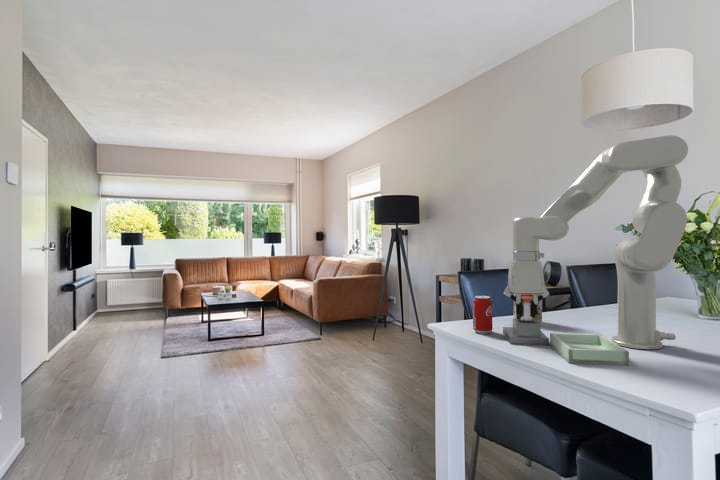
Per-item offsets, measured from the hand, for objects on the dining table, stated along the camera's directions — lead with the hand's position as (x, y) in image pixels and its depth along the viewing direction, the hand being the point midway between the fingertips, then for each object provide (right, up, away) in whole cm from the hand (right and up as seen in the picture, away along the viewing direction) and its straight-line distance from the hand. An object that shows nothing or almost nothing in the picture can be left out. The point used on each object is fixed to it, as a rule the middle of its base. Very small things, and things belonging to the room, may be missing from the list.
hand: (526, 315), depth 130 cm
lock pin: (0, -6, 0) cm, 6 cm away
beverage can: (-10, -8, +12) cm, 18 cm away
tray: (+10, -8, -15) cm, 20 cm away
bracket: (+1, -8, +3) cm, 8 cm away
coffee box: (+11, -8, +27) cm, 30 cm away
